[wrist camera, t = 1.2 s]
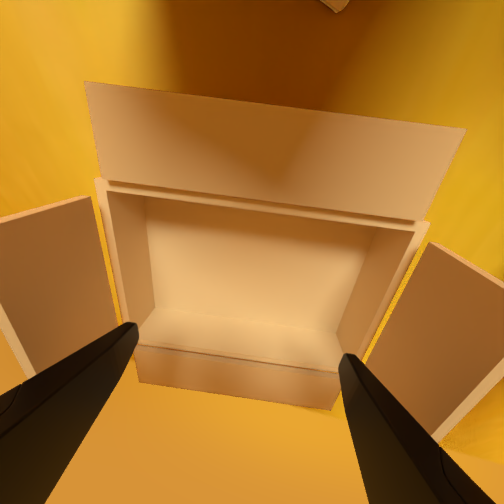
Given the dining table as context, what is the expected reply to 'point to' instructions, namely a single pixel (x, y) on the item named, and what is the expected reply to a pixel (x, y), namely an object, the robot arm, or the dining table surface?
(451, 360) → the flap
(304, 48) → the dining table surface
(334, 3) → the tea box
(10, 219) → the flap
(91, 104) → the carton
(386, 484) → the robot arm
